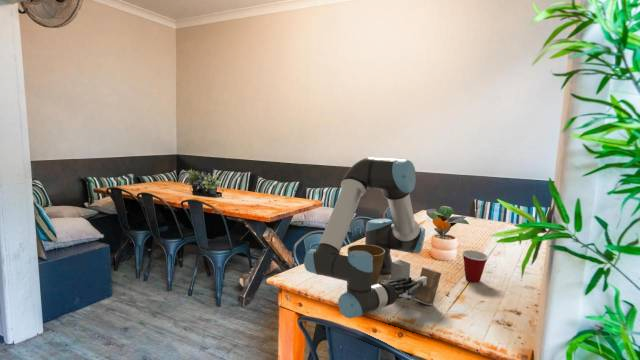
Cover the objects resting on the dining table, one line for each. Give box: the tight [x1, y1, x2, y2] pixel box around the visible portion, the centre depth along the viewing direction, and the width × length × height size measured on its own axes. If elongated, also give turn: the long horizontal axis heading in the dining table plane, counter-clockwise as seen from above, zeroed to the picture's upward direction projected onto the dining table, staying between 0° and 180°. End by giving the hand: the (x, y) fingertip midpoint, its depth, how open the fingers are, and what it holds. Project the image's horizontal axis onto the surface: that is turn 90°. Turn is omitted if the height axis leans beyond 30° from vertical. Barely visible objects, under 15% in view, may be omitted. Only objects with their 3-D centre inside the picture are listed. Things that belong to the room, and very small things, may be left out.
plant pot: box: [347, 243, 385, 285], centre depth 146 cm, size 15×15×16 cm
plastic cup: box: [461, 249, 490, 284], centre depth 159 cm, size 11×11×12 cm
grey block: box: [390, 259, 411, 280], centre depth 144 cm, size 5×5×12 cm
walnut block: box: [413, 267, 442, 306], centre depth 135 cm, size 5×5×12 cm
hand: (425, 280), depth 133 cm, fingers closed
